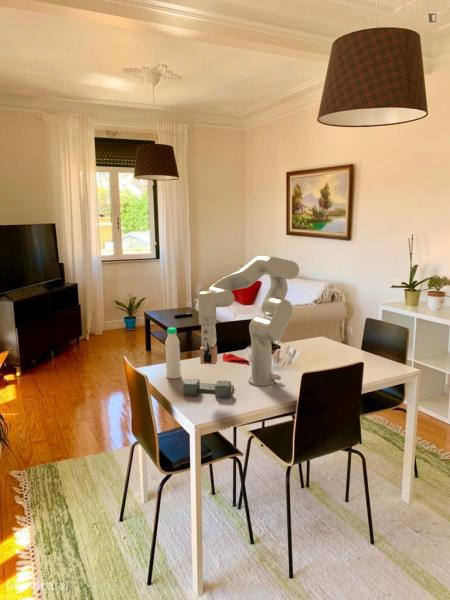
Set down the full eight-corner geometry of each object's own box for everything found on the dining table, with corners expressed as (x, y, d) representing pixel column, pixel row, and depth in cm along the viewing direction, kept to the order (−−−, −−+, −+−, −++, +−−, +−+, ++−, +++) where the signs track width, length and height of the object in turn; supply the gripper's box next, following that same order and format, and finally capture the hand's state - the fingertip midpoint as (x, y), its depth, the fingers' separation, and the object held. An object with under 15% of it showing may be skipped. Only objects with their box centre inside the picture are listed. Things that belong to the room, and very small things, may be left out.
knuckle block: (217, 360, 200) (216, 345, 199) (215, 364, 195) (214, 348, 194) (202, 360, 201) (202, 345, 200) (200, 363, 196) (199, 348, 195)
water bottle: (178, 379, 223) (176, 330, 218) (164, 378, 224) (162, 329, 220) (182, 374, 230) (180, 326, 225) (169, 374, 231) (167, 326, 226)
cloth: (214, 355, 262) (214, 351, 262) (236, 352, 267) (236, 348, 267) (231, 369, 238) (231, 365, 238) (255, 365, 243) (255, 361, 243)
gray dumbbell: (236, 388, 211) (235, 375, 210) (231, 399, 199) (230, 386, 197) (189, 385, 215) (188, 373, 214) (181, 396, 203) (181, 383, 202)
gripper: (212, 325, 186) (213, 367, 189) (219, 315, 202) (220, 354, 206) (194, 324, 187) (196, 366, 191) (203, 315, 204) (204, 354, 207)
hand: (209, 360), depth 198 cm, fingers closed on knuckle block, 5 cm apart
